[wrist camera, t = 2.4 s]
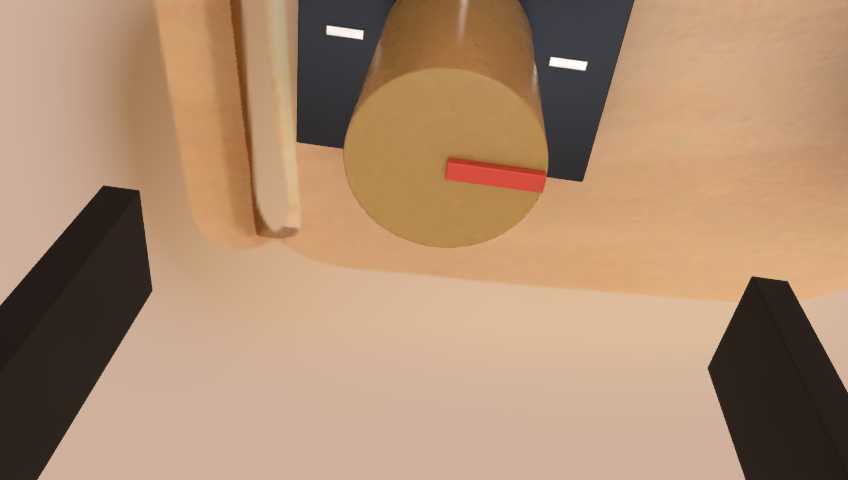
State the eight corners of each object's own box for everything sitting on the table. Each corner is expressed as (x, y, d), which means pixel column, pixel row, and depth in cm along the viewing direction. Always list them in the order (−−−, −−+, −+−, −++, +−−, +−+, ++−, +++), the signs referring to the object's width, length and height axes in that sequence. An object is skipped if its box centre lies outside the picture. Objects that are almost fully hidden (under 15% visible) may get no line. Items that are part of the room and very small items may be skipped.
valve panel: (310, 111, 32) (295, 144, 30) (317, -136, 27) (299, -122, 24) (575, 148, 33) (583, 184, 30) (639, -90, 27) (656, -71, 24)
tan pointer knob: (376, 105, 29) (336, 240, 21) (389, -41, 25) (347, 57, 18) (516, 124, 29) (526, 266, 21) (546, -19, 25) (571, 89, 18)
